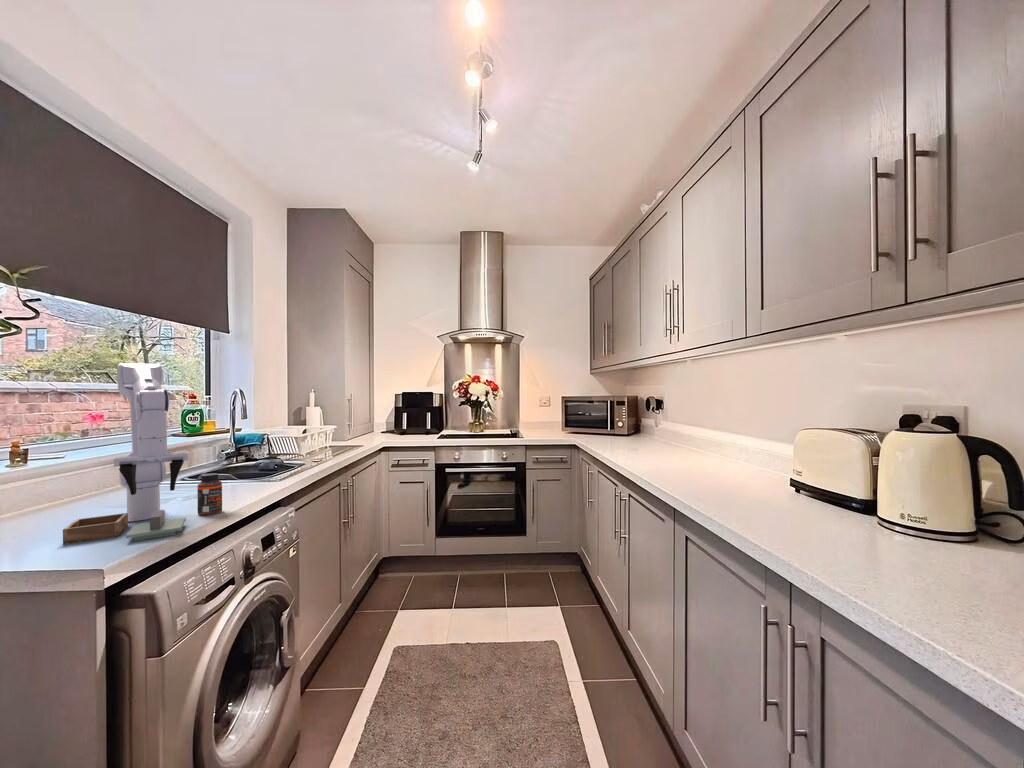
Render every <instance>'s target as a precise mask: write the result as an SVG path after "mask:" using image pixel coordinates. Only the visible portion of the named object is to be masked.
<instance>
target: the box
mask: <svg viewBox="0 0 1024 768" xmlns="http://www.w3.org/2000/svg"><path fill="white" fill-rule="evenodd" d="M127 526H128V527H129V522H128V513H127V512H123V513H117V514H116V513H115V514H108V515H101V516H94V517H93V516H91V517H85V518H76V519H75V520H74V521H72V522H71V523H70V524H68V525H67V526H66V527H64V528H63V529H62V545H67V544H66V543H70V544H73V543H72V542H77V543H79V542H78V541H83V542H88V541H87V540H90V541H95V540H94V539H97V540H103V539H102V538H104V539H109V538H110V537H111V538H116V537H120V536H121V534H122V533H123V532H124V531H125V530H126V529H127V528H128V527H127ZM126 527H127V528H126ZM125 528H126V529H125Z"/></svg>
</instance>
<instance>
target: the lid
mask: <svg viewBox="0 0 1024 768" xmlns="http://www.w3.org/2000/svg"><path fill="white" fill-rule="evenodd" d="M165 513H166V511H165V509H164V510H161V511H155V512H154V513H153V514H152V516H151V517H150V519H149V522H143V523H136V524H134V525H133V526H132V527H131V529H130V530H129V531H128V532H127V533H126V534H125V539H130V538H131V539H132V538H133V542H137V541H143V540H149V539H156V538H162V537H163V536H164V537H168V536H169V535H170V536H175V535H176V534H177V532H178V531H181V530H182V529H183V527H184V525H185V522H186V518H187V517H180V518H178V517H177V518H172V519H171V518H170V519H165V517H166V515H165ZM170 536H169V537H170ZM164 537H163V538H164ZM136 540H137V541H136Z"/></svg>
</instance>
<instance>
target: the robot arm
mask: <svg viewBox="0 0 1024 768" xmlns="http://www.w3.org/2000/svg"><path fill="white" fill-rule="evenodd" d="M163 377H164V376H163V367H162V365H161V363H124V362H119V363H118V364H117V365H116V380H117V390H118V394H120V395H123V396H124V397H126V398H127V401H128V404H129V409H130V410H129V413H130V431H131V433H130V434H131V452H130V453H129V454H127V455H125V456H121V457H120V456H119V457H114V458H113V467H114V468H115V467H119V469H118V470H119V484H120V487H122V488H125V489H126V513H128V523H132V522H137V521H138V522H139V521H146V520H147V521H148V520H150V517H151V516H152V514H153V513H154V512H155V511H161V510H165V509H164V508H162V509H161V491H160V485H161V484H162V483H163V482H164V481H165V480H166V479H167V467H166V463H168V462H169V473H170V474H169V475H170V484H169V492H170V491H174V490H175V489H176V482H177V480H178V479H177V478H178V476H179V473H180V471H181V469H182V466H183V464H184V463H185V462H187V461H189V459H190V458H189V457H190V456H189V455H190V453H189V451H187V452H168V432H167V431H168V429H167V428H168V427H167V426H168V425H167V424H168V423H167V421H168V420H167V413H168V412H169V409H170V395H169V392H168V389H167V388H165V389H163V388H162V382H163Z"/></svg>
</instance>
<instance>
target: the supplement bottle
mask: <svg viewBox="0 0 1024 768" xmlns="http://www.w3.org/2000/svg"><path fill="white" fill-rule="evenodd" d="M196 496H197V515H198V516H213V515H217V514H219V513H221V512H222V511H223V483H222V481H221V480H220V479H219V473H216V472H214V473H213V472H211V473H205V474H204V473H203V474H202V475H201V480H200V482H199V483H198V484H197V495H196ZM212 514H213V515H212Z"/></svg>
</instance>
